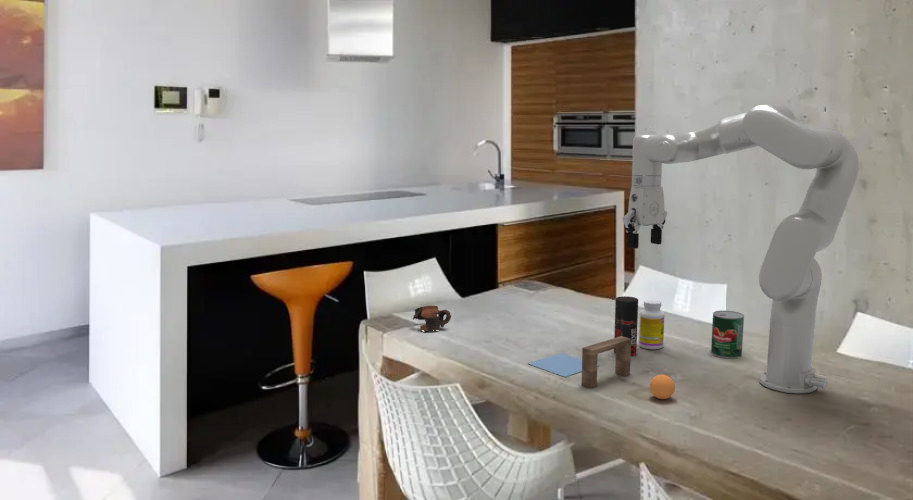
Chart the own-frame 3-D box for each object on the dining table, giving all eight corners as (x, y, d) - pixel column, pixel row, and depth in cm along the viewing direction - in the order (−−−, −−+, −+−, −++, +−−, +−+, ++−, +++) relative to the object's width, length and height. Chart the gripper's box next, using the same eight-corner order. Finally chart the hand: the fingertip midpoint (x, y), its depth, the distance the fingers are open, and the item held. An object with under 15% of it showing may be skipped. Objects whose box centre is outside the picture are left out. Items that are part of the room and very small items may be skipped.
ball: (679, 398, 166) (680, 375, 165) (664, 405, 163) (665, 381, 162) (658, 392, 171) (659, 369, 170) (644, 397, 167) (645, 374, 166)
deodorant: (620, 348, 203) (621, 295, 201) (640, 352, 199) (642, 298, 197) (609, 353, 199) (611, 299, 196) (630, 357, 195) (632, 302, 192)
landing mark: (599, 365, 189) (599, 365, 189) (565, 377, 181) (565, 376, 181) (562, 353, 199) (562, 353, 199) (527, 364, 191) (527, 363, 191)
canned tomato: (740, 350, 200) (742, 311, 198) (743, 359, 193) (745, 319, 191) (709, 348, 203) (711, 309, 201) (711, 357, 195) (713, 317, 193)
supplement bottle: (664, 350, 201) (666, 305, 198) (638, 349, 202) (640, 304, 200) (662, 343, 207) (664, 299, 205) (638, 342, 208) (639, 298, 206)
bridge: (629, 374, 182) (631, 338, 181) (591, 388, 173) (592, 350, 172) (620, 371, 185) (621, 336, 183) (581, 384, 176) (582, 347, 174)
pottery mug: (411, 334, 219) (407, 308, 222) (421, 340, 228) (417, 314, 231) (449, 326, 217) (445, 299, 219) (458, 332, 226) (454, 306, 228)
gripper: (637, 184, 186) (635, 251, 189) (678, 180, 196) (676, 243, 199) (613, 183, 192) (612, 247, 195) (655, 179, 202) (653, 240, 205)
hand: (644, 245), depth 197 cm, fingers open, 9 cm apart
